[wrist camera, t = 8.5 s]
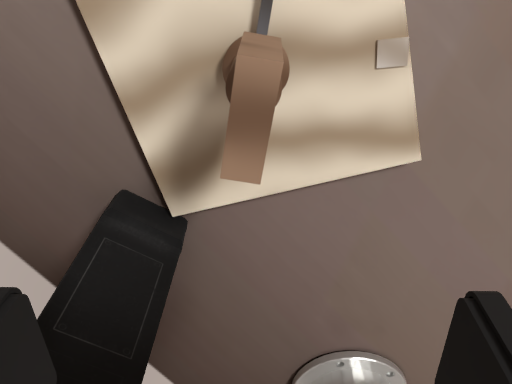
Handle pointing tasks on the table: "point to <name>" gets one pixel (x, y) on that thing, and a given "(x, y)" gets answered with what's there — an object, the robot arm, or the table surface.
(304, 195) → the table surface
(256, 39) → the tuning peg
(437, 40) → the table surface
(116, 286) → the portable radio
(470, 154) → the table surface
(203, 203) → the dial board
